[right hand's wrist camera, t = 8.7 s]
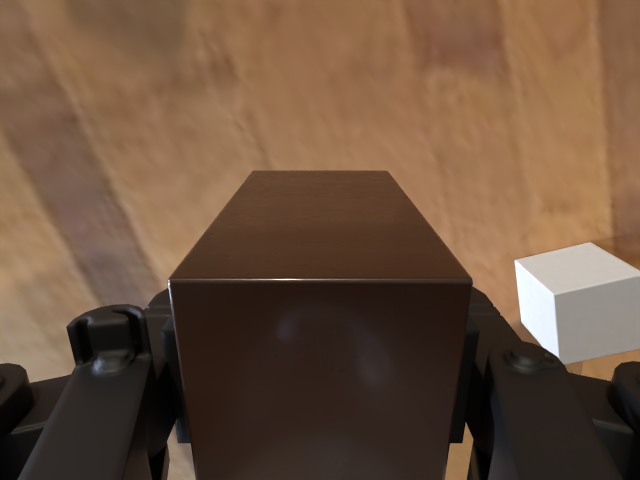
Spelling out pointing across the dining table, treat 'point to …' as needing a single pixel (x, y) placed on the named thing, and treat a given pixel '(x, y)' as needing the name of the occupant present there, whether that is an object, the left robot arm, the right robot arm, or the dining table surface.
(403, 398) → the walnut beam
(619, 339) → the grey cube
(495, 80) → the dining table surface
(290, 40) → the dining table surface
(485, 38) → the dining table surface
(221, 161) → the dining table surface
